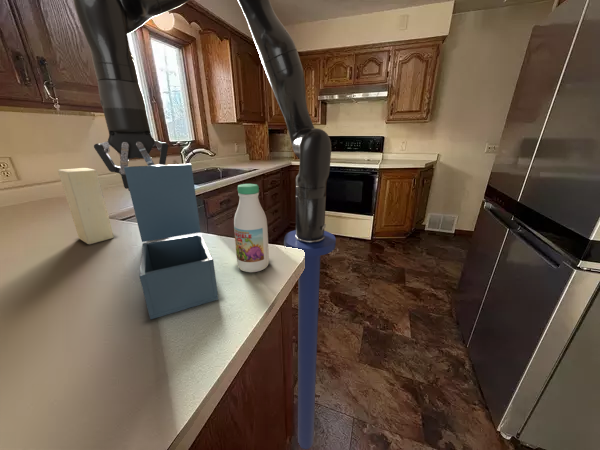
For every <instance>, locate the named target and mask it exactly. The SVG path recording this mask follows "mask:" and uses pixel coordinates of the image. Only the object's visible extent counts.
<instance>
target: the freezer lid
mask: <svg viewBox="0 0 600 450" xmlns="http://www.w3.org/2000/svg"><path fill="white" fill-rule="evenodd" d="M124 170H125V174H126V178H127V182H128V186H129V190H130V191H129V190H128V191H129V194H130V199H131V202H132V206H133V210H134V216H135V215H136V217H135V219H136V223H137V227H138V231H139V235H140V239H141V243H146V242H152V241H158V240H164V239H170V238H176V237H182V236H188V235H194V234H200V233H202V232H201V225H200V224H201V223H200V217H199V210H198V201H197V196H196V187H195V180H194V173H193V166H192V164H191V163H179V164H177V163H176V164H165V165H157V164H155V165H154V166H148V165H135V166H133V165H132V166H128V167H124Z"/></svg>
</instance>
